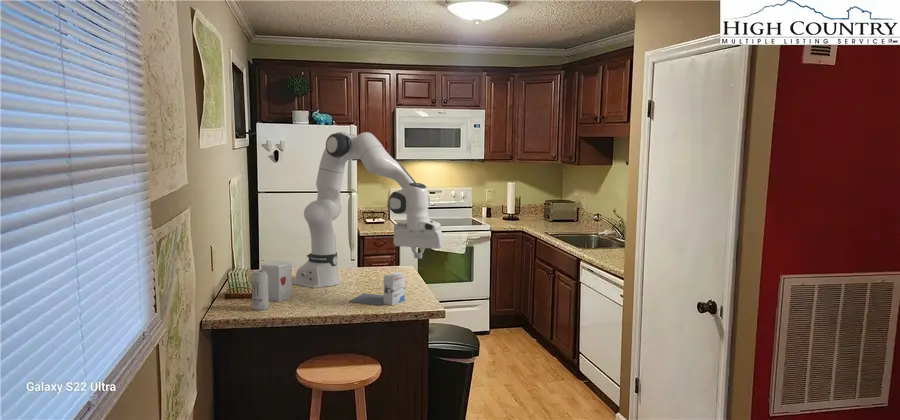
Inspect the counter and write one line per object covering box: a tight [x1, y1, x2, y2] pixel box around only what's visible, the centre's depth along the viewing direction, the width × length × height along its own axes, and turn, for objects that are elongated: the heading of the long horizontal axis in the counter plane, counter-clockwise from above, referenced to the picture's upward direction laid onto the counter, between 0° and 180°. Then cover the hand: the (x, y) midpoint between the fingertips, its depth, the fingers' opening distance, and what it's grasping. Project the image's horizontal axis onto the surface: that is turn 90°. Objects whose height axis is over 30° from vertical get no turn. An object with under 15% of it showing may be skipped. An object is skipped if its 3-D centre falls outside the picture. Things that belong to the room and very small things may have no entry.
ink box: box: [383, 271, 406, 306], centre depth 234 cm, size 9×5×12 cm, turn 148°
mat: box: [348, 292, 384, 307], centre depth 238 cm, size 14×13×1 cm
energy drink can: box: [251, 269, 270, 312], centre depth 223 cm, size 6×6×15 cm
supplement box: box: [260, 260, 293, 303], centre depth 238 cm, size 9×9×15 cm
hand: (418, 258), depth 230 cm, fingers closed
